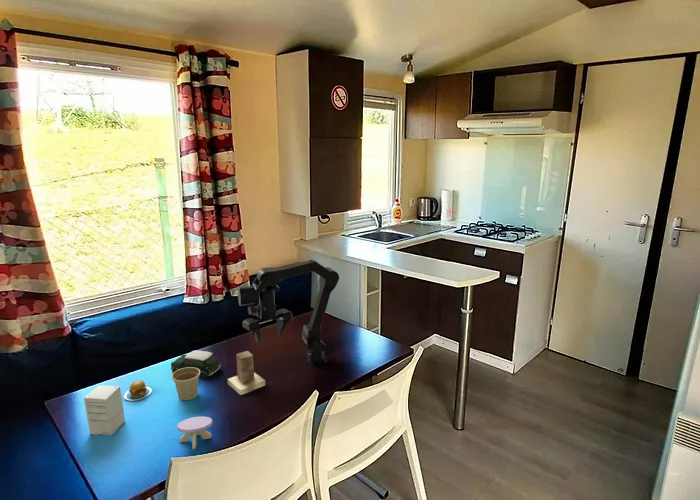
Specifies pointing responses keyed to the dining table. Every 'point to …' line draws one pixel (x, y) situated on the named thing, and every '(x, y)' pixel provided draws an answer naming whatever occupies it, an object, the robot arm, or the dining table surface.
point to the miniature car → (197, 363)
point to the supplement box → (104, 410)
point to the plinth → (246, 384)
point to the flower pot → (186, 382)
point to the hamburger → (137, 390)
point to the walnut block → (245, 367)
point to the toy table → (195, 429)
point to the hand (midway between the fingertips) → (268, 340)
